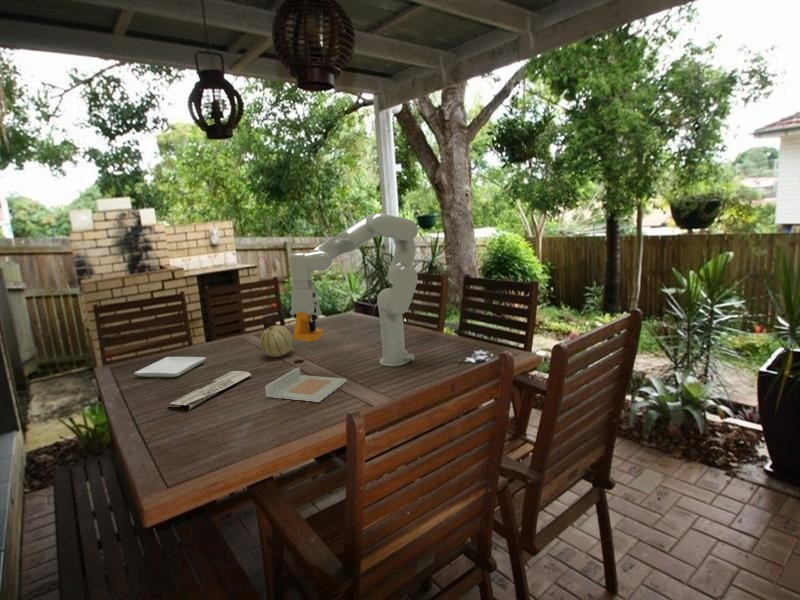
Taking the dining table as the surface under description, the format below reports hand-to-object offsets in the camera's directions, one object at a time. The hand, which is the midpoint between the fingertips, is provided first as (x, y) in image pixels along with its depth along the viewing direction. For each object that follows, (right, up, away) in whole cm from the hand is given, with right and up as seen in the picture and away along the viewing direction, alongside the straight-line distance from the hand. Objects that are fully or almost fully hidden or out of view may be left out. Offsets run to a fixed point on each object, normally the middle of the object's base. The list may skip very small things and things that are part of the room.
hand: (307, 330), depth 178 cm
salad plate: (-65, -20, +25) cm, 72 cm away
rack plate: (+2, -21, -9) cm, 23 cm away
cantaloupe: (-21, -15, +36) cm, 44 cm away
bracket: (+1, -3, +1) cm, 4 cm away
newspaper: (-35, -24, -4) cm, 42 cm away
